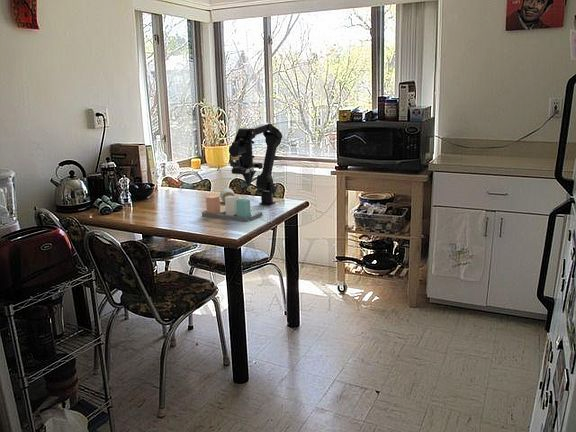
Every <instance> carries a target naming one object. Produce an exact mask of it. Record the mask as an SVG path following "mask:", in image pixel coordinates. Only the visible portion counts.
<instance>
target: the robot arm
mask: <svg viewBox="0 0 576 432" xmlns="http://www.w3.org/2000/svg"><path fill="white" fill-rule="evenodd" d="M261 134H262V135H263V137H264V139H265V140H264V141H265V144H266V150H265V155H264V160H263V164H262V162H256V161H255V162H254V158H255V155H254V154H253V144H255V141H253V139H255V138H256V136H257V135H261ZM282 140H283V133H282V132H281V131H280V129H279V128H277V127H275V126H274V125H273V124H272V123H271V122H262V123H261V124H258V125H254V126H252V127H239V128H238V130H237V132H236V135H235V138H234V140H233V142H231V145H230V146H229V148H228V153H229V155H230V156H232V157H234V158H236V157H238V159H237V160H236V159H231V160H229V166H230V167H232V168H231V174H233V175H234V174H235V175H242V177H243V180H244V181H245V184H246V186H249V187H250V186H251V183H252V180H253V178H254V176H255V175H256V172H257V170H255V169H259V170H262V172H261V173H260V174H258V175H257V176H256V180H255V187H256V191H257V192H258V193H261V194H260V196H261V197H260V199H261V200H260V201H261V202H259V205H262V206H271V205H274V204H275V203H277V202H276V201H274V194H276V192H277V187H276V185H275V184H274V178H273V176H272V173H273V167H274V161H275V157H276V152H277V148H278V147H279V146H280V144H281V142H282Z"/></svg>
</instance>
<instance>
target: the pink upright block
mask: <svg viewBox="0 0 576 432" xmlns="http://www.w3.org/2000/svg"><path fill="white" fill-rule="evenodd" d="M220 199H221V198H220V195H208V196H205V203H206V210H207V213H214V214H218V213H220V212H221V203H220V202H221V200H220Z"/></svg>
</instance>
